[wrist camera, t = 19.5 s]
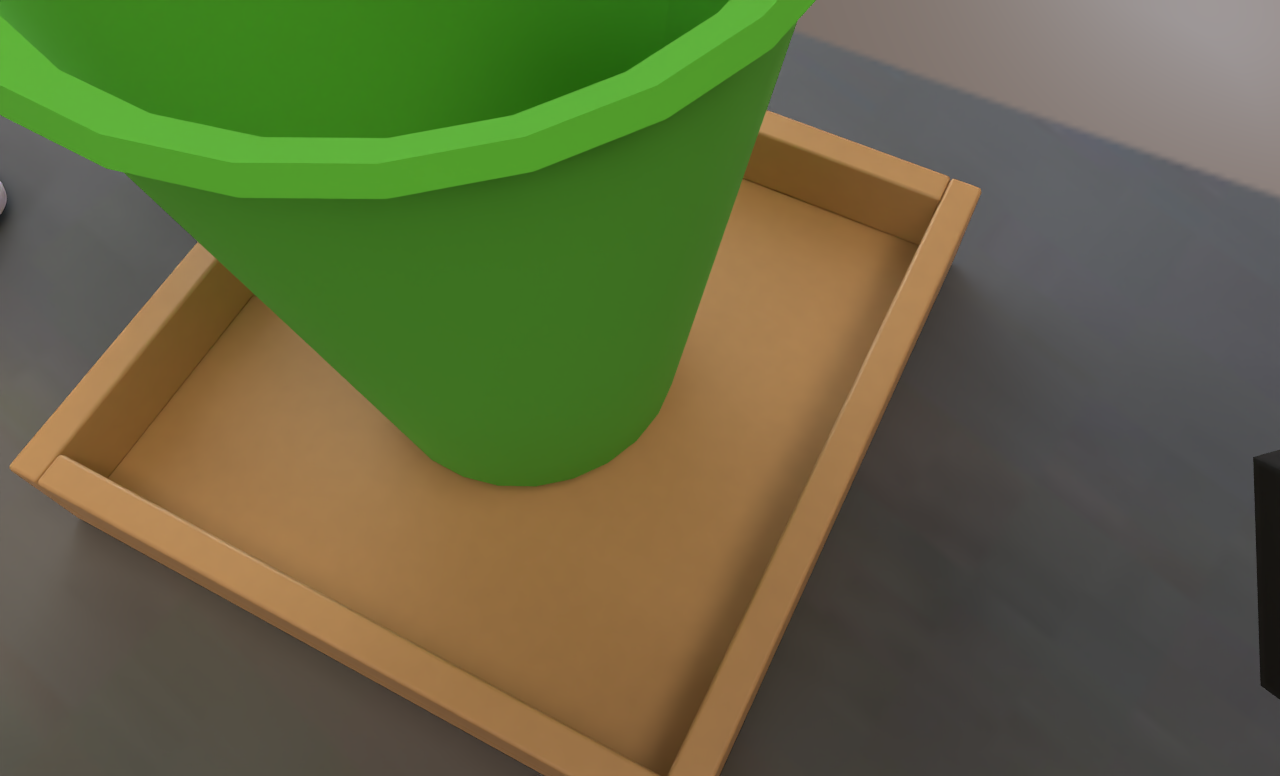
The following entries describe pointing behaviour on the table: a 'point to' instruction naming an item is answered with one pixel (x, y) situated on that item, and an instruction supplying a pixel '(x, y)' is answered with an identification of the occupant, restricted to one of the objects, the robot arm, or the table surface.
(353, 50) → the cup
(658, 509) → the square wooden tray
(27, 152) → the table surface
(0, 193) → the smartphone
